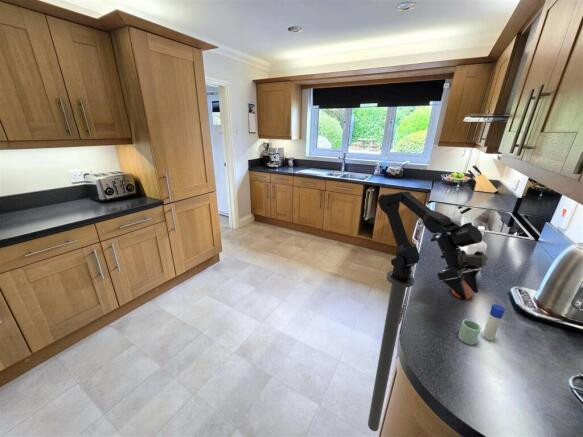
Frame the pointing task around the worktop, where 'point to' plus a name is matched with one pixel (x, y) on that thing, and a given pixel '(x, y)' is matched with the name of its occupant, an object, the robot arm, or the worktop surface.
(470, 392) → the worktop surface
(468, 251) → the white bottle
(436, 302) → the worktop surface
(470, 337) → the glass
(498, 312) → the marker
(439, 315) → the worktop surface
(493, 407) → the worktop surface
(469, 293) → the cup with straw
